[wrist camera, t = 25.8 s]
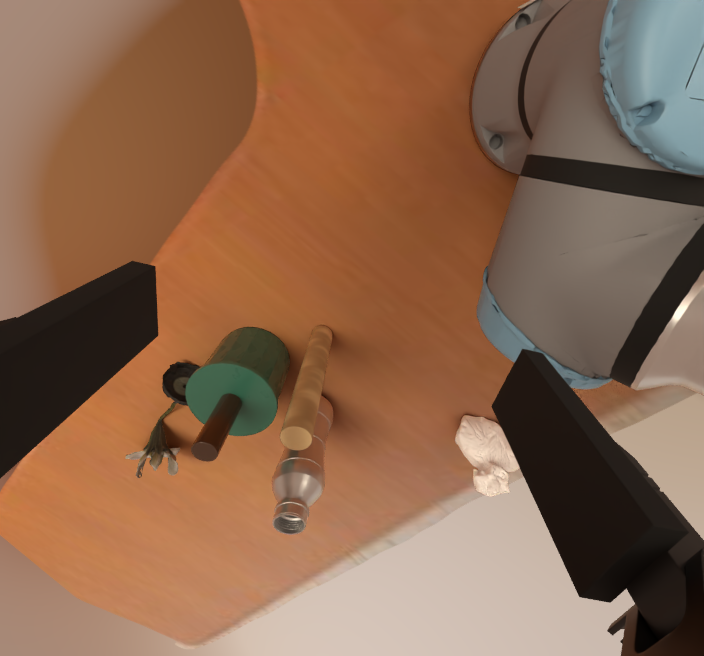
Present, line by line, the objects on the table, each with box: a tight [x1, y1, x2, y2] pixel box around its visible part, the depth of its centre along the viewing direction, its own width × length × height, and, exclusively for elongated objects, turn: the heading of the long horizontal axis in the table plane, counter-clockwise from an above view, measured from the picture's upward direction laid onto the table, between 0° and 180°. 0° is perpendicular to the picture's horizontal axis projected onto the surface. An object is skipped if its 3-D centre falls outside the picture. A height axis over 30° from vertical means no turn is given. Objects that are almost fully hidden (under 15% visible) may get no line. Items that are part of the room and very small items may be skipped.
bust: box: [455, 415, 519, 497], centre depth 53 cm, size 12×8×11 cm
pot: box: [204, 327, 290, 399], centre depth 48 cm, size 10×10×10 cm
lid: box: [185, 361, 278, 461], centre depth 41 cm, size 11×11×9 cm
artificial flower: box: [125, 362, 200, 478], centre depth 56 cm, size 9×22×10 cm, turn 144°
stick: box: [280, 325, 333, 450], centre depth 41 cm, size 3×3×20 cm
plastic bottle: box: [272, 396, 333, 535], centre depth 47 cm, size 6×7×20 cm
